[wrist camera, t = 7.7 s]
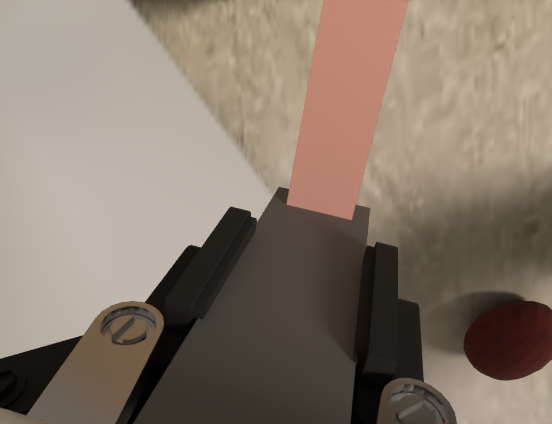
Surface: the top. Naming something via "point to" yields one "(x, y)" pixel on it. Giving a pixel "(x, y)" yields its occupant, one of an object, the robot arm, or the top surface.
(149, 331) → the robot arm
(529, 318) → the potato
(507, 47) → the top surface
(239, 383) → the rake
